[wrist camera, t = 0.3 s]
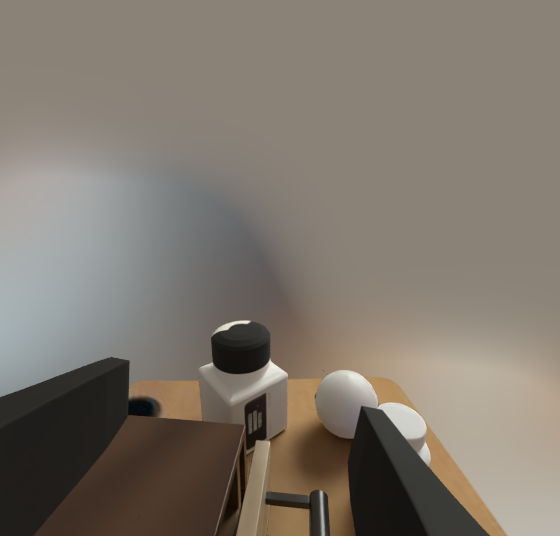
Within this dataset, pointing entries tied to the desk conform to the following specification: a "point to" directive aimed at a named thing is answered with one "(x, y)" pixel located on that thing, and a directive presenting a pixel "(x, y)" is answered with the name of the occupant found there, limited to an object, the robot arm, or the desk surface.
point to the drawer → (268, 501)
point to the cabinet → (156, 481)
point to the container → (244, 382)
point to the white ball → (343, 401)
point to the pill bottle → (409, 427)
